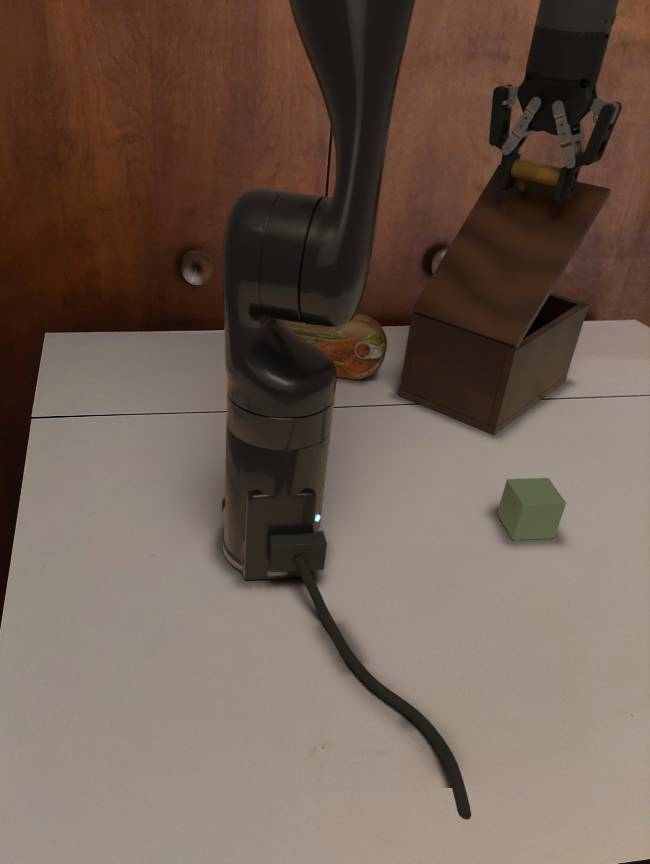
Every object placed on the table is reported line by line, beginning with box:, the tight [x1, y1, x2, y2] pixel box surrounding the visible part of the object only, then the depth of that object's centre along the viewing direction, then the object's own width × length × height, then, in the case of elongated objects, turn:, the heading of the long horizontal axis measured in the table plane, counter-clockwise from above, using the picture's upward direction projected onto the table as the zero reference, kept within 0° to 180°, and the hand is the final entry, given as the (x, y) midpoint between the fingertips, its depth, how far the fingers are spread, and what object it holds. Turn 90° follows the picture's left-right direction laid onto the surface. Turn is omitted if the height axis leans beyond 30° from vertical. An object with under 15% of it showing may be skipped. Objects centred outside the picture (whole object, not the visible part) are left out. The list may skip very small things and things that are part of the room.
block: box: [496, 477, 567, 541], centre depth 82 cm, size 4×4×4 cm
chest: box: [397, 292, 590, 435], centre depth 104 cm, size 20×14×11 cm
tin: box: [283, 313, 388, 380], centre depth 107 cm, size 15×3×8 cm, turn 73°
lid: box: [411, 158, 611, 349], centre depth 92 cm, size 21×14×5 cm
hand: (532, 194), depth 92 cm, fingers closed on lid, 6 cm apart
